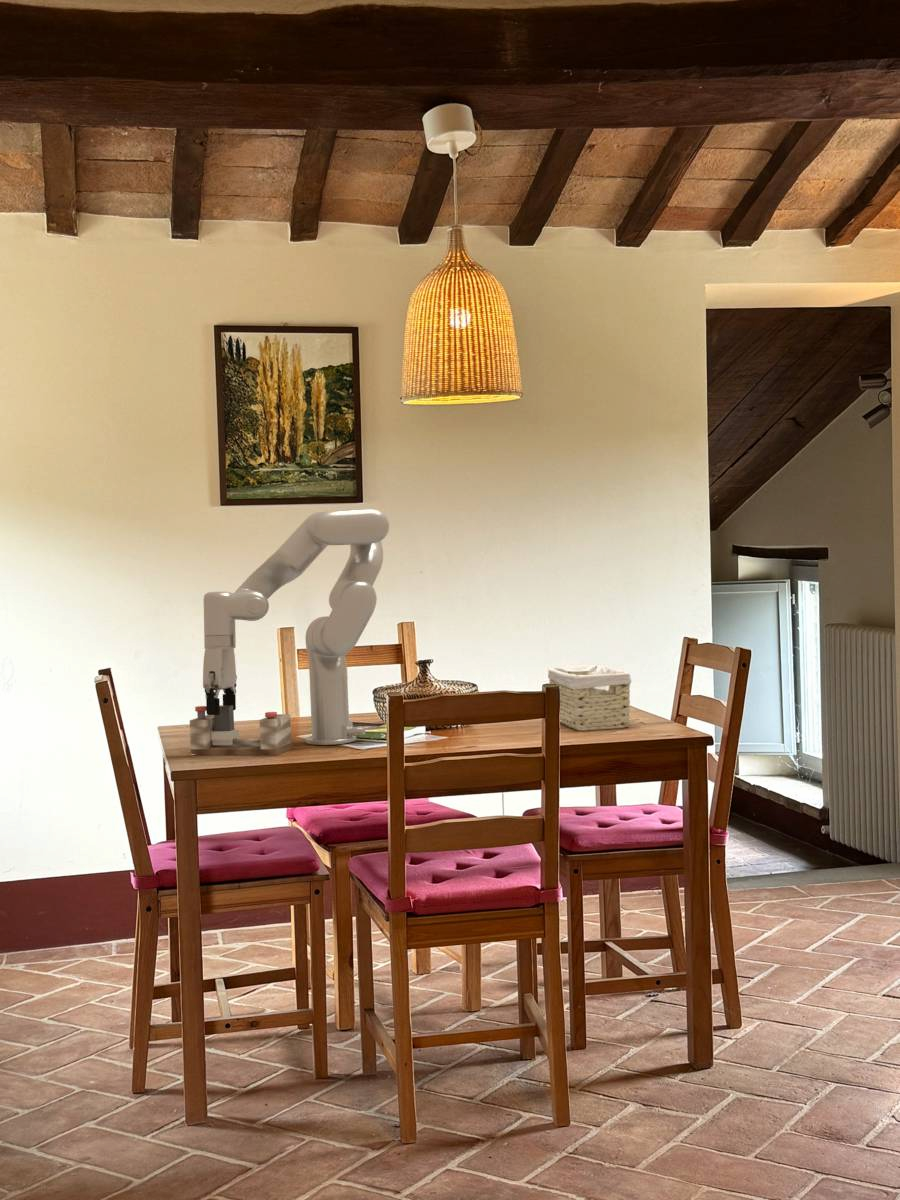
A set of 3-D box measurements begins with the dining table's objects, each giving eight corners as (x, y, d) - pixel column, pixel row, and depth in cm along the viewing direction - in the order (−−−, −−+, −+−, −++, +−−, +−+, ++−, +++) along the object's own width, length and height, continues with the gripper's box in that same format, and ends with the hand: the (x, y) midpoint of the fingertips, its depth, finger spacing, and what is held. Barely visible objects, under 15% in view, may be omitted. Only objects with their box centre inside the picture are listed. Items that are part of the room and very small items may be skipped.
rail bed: (291, 748, 317) (290, 714, 317) (276, 755, 308) (275, 719, 307) (208, 748, 323) (206, 714, 322) (191, 755, 313) (189, 720, 312)
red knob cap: (279, 728, 311) (278, 711, 311) (275, 729, 309) (274, 713, 309) (268, 728, 312) (267, 711, 312) (263, 730, 309) (263, 713, 309)
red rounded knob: (209, 722, 316) (208, 705, 315) (204, 723, 313) (203, 707, 313) (198, 722, 316) (198, 706, 316) (193, 723, 313) (193, 707, 313)
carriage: (238, 742, 318) (237, 704, 318) (230, 745, 313) (229, 707, 313) (219, 742, 319) (218, 704, 319) (211, 745, 314) (209, 707, 314)
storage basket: (635, 728, 330) (633, 671, 330) (574, 733, 327) (572, 674, 326) (605, 717, 354) (603, 663, 353) (547, 721, 350) (545, 667, 350)
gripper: (220, 640, 324) (221, 708, 325) (190, 644, 307) (192, 716, 308) (248, 640, 323) (249, 708, 323) (220, 644, 306) (221, 716, 306)
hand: (221, 712), depth 315 cm, fingers open, 9 cm apart
